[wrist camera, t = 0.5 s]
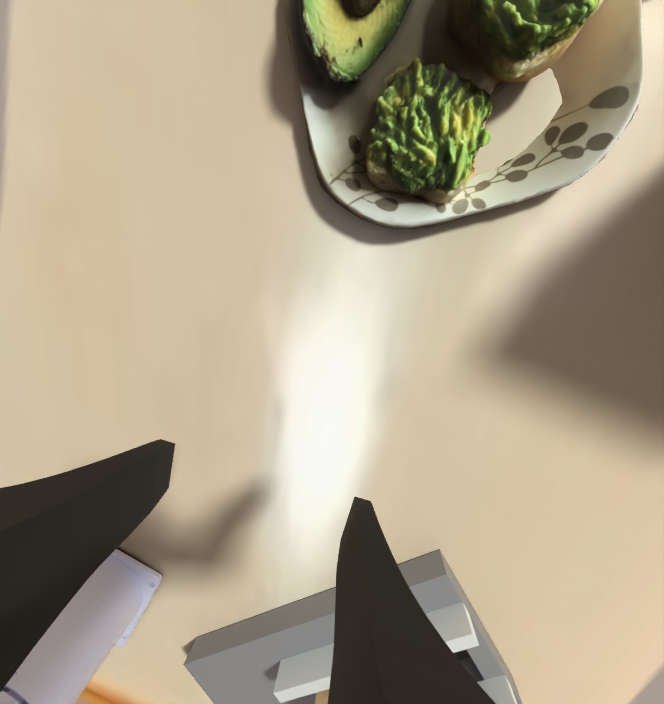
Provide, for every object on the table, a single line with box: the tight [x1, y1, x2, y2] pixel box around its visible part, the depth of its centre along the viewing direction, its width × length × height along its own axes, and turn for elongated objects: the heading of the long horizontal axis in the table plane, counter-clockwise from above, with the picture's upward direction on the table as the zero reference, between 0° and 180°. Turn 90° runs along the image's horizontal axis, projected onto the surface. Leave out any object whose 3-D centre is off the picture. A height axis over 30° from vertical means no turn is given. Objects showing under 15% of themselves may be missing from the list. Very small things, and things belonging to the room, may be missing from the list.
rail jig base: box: [184, 549, 522, 704], centre depth 24 cm, size 23×13×4 cm, turn 120°
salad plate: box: [285, 0, 644, 229], centre depth 14 cm, size 19×18×5 cm
